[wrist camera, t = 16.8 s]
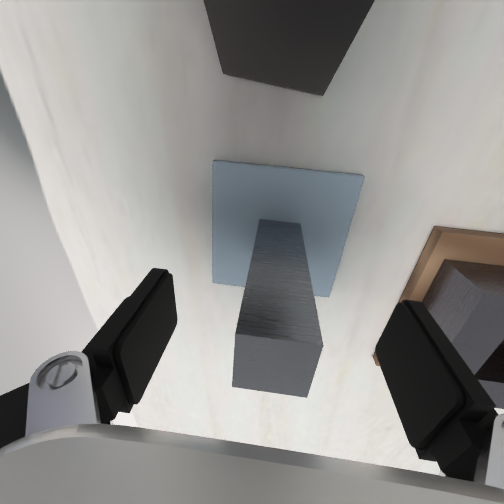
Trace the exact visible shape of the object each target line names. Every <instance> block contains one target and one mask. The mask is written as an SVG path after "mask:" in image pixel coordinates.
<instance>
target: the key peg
mask: <svg viewBox="0 0 504 504" xmlns="http://www.w3.org/2000/svg"><path fill="white" fill-rule="evenodd" d="M322 348H323V342H322V336H321V331H320V326H319V320H318V315H317V309H316V304H315V299H314V293H313V288H312V283H311V277H310V272H309V267H308V261H307V256H306V250H305V245H304V240H303V234H302V229H301V224H300V223H293V222H283V221H274V220H265V219H259V223H258V228H257V233H256V238H255V242H254V247H253V252H252V257H251V262H250V266H249V271H248V276H247V281H246V285H245V290H244V295H243V300H242V304H241V309H240V314H239V319H238V323H237V328H236V333H235V348H234V364H233V381H232V387H238V388H245V389H251V390H258V391H265V392H272V393H279V394H286V395H293V396H300V397H306V398H307V396H308V393H309V389H310V386H311V383H312V380H313V377H314V373H315V370H316V367H317V364H318V361H319V357H320V354H321V351H322Z"/></svg>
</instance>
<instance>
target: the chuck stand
mask: <svg viewBox="0 0 504 504" xmlns="http://www.w3.org/2000/svg"><path fill="white" fill-rule="evenodd" d="M444 259H449V260H458V261H467V262H475V263H484V264H493V265H501V266H504V234H501V233H492V232H482V231H473V230H464V229H455V228H446V227H437V226H435V227H434V229H433V231H432V233H431V235H430V237H429V239H428V241H427V243H426V246H425V248H424V250H423V252H422V254H421V256H420V258H419V260H418V262H417V265H416V267H415V269H414V271H413V273H412V275H411V277H410V279H409V281H408V284H407V286H406V288H405V290H404V292H403V294H402V296H401V298H400V300H399V303H401V302H402V301H403V300H413V301H420V302H422V300H423V298H424V296H425V295H426V293H427V291H428V289H429V287H430V285H431V283H432V281H433V279H434V278H435V276H436V274H437V272H438V270H439V268H440V266H441V264H442V263H443V261H444ZM373 358H374V361H375V364H376V366H380V364H379V361H378V359H377V356H376V352H375V353H374V355H373Z"/></svg>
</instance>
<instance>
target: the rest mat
mask: <svg viewBox="0 0 504 504" xmlns="http://www.w3.org/2000/svg"><path fill="white" fill-rule="evenodd" d="M363 180H364V176H363V175H359V174H349V173H339V172H329V171H319V170H309V169H299V168H289V167H279V166H269V165H259V164H249V163H239V162H229V161H219V160H214V161H213V283H218V284H226V285H234V286H242V287H245V285H246V281H247V276H248V271H249V266H250V262H251V257H252V252H253V247H254V242H255V238H256V233H257V228H258V223H259V219H265V220H274V221H283V222H293V223H300V224H301V229H302V234H303V240H304V245H305V250H306V256H307V261H308V267H309V272H310V277H311V283H312V288H313V293H314V296H321V297H329V296H330V293H331V289H332V286H333V282H334V279H335V276H336V272H337V269H338V265H339V262H340V259H341V255H342V252H343V248H344V245H345V242H346V238H347V235H348V231H349V228H350V225H351V221H352V218H353V214H354V211H355V208H356V204H357V201H358V197H359V194H360V191H361V187H362V184H363Z"/></svg>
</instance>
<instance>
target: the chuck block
mask: <svg viewBox="0 0 504 504" xmlns="http://www.w3.org/2000/svg"><path fill="white" fill-rule="evenodd" d="M422 303H423V304H424V306H425V307H426V308H427V310H428V311H429V313H430V314H431V315H432V317H433V318H434V319H435V321H436V322H437V324H438V325H439V326H440V328H441V329H442V331H443V332H444V333H445V335H446V336H447V338H448V339H449V340H450V342H451V343H452V345H453V346H454V347H455V349H456V350H457V352H458V353H459V354H460V356H461V357H462V359H463V360H464V361H465V363H466V364H467V366H468V367H469V368H470V370H471V371H472V373H473V374H474V375H475V377H476V378H477V380H478V381H479V382H480V384H481V385H482V387H483V388H484V389H485V391H486V392H487V394H488V395H489V396H490V398H491V399H492V400H493V402H494V403H495V405H496V407H495V408H502V409H504V266H501V265H493V264H484V263H475V262H467V261H458V260H449V259H444V261H443V263H442V264H441V266H440V268H439V270H438V272H437V274H436V276H435V278H434V279H433V281H432V283H431V285H430V287H429V289H428V291H427V293H426V295H425V296H424V298H423V300H422Z"/></svg>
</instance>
